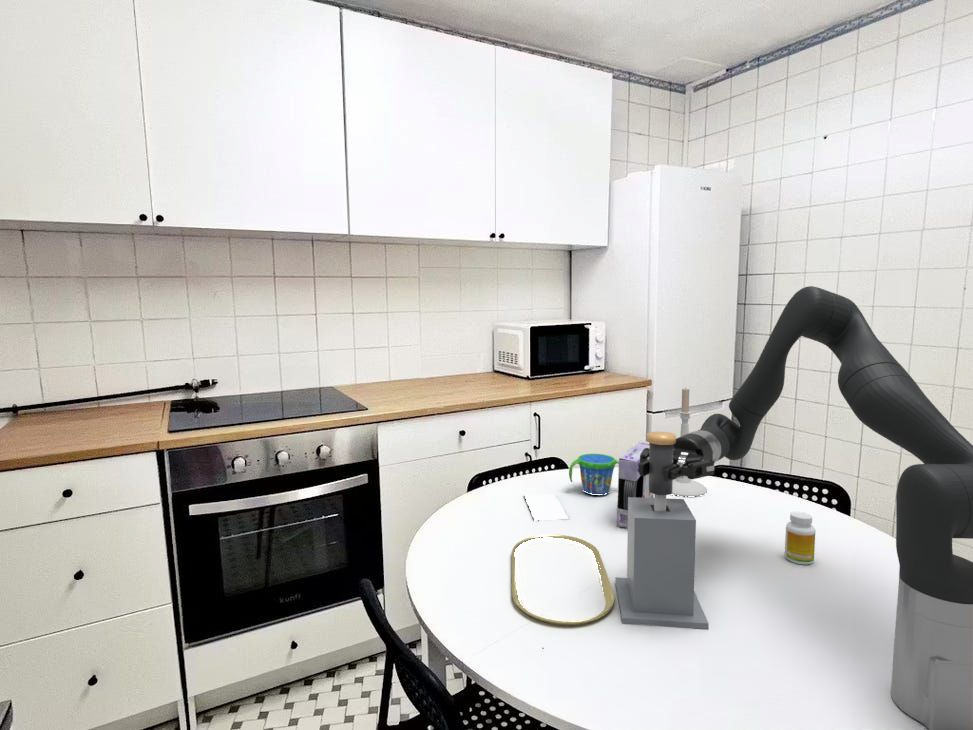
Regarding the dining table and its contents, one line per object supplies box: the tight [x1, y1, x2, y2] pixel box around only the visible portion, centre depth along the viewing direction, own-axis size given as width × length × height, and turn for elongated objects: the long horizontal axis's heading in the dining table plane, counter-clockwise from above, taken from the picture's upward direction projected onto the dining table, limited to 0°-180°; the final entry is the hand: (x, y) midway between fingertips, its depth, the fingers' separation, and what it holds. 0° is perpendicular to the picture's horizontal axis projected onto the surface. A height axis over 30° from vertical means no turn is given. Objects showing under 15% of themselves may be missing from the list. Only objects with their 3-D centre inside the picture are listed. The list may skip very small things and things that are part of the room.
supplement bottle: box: [784, 511, 816, 565], centre depth 115 cm, size 5×5×10 cm
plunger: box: [646, 431, 677, 511], centre depth 97 cm, size 5×5×27 cm
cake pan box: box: [616, 440, 654, 529], centre depth 139 cm, size 19×5×18 cm, turn 148°
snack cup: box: [568, 453, 619, 494], centre depth 157 cm, size 16×10×10 cm
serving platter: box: [511, 534, 616, 627], centre depth 110 cm, size 19×35×2 cm, turn 178°
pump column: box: [614, 497, 710, 630], centre depth 98 cm, size 14×14×18 cm
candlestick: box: [672, 387, 708, 497], centre depth 157 cm, size 13×13×30 cm
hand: (653, 472), depth 95 cm, fingers closed on plunger, 4 cm apart
